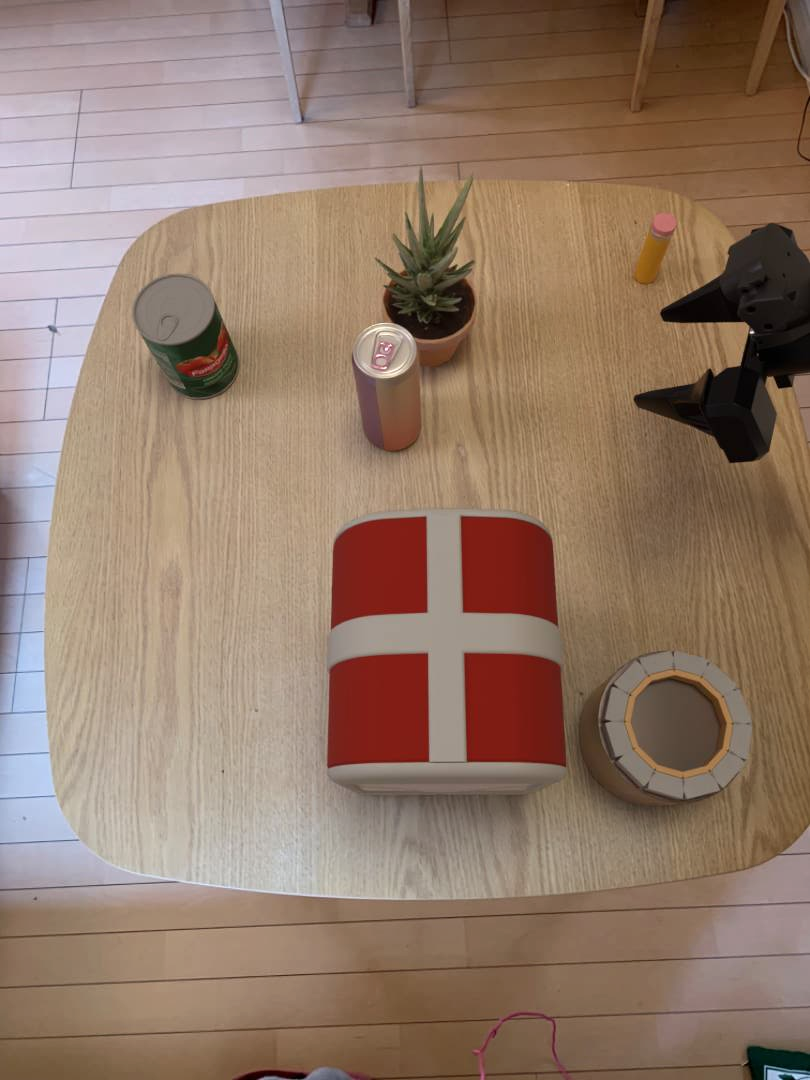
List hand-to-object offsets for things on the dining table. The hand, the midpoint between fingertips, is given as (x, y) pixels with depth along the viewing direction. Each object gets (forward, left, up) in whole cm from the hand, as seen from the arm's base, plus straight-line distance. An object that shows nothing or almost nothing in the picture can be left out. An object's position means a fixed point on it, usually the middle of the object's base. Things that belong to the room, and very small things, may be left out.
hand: (648, 357), depth 68 cm
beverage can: (+20, -9, -19) cm, 29 cm away
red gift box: (+22, +19, -19) cm, 35 cm away
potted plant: (+14, -18, -19) cm, 30 cm away
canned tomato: (+38, -21, -19) cm, 47 cm away
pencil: (-11, -20, -19) cm, 30 cm away
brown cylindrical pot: (+5, +27, -19) cm, 34 cm away
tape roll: (+5, +27, -10) cm, 30 cm away
